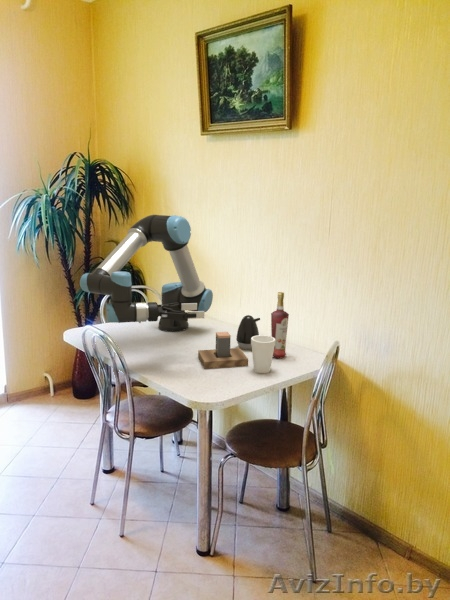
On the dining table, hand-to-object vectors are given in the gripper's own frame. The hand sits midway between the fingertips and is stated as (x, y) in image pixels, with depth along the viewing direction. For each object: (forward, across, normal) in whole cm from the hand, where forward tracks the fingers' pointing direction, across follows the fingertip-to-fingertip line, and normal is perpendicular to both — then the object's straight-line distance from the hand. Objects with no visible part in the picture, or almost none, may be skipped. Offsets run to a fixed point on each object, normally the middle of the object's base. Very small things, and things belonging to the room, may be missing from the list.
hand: (200, 310), depth 193 cm
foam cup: (+22, +14, -22) cm, 34 cm away
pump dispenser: (+25, -13, -22) cm, 36 cm away
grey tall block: (+10, +1, -22) cm, 24 cm away
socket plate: (+10, +1, -22) cm, 24 cm away
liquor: (+34, 0, -22) cm, 41 cm away
